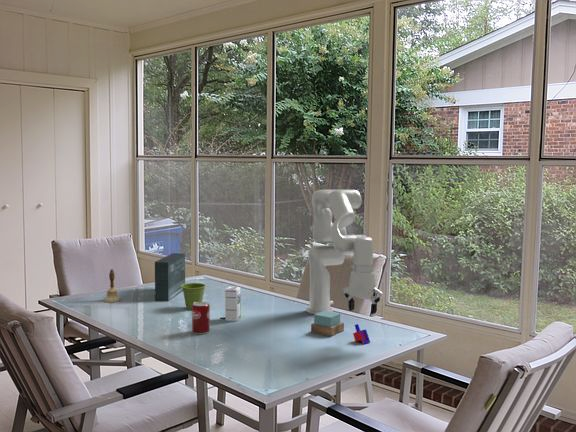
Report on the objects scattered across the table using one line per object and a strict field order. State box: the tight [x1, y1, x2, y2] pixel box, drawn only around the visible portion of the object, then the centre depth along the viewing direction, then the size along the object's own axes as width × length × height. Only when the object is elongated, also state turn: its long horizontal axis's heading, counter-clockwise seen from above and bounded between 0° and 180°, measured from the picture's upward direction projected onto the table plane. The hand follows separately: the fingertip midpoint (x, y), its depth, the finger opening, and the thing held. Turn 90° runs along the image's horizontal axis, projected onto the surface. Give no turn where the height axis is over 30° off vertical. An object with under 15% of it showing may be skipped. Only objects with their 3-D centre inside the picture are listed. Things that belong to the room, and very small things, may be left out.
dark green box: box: [154, 252, 186, 302], centre depth 311 cm, size 29×7×20 cm, turn 173°
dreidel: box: [352, 324, 371, 345], centre depth 234 cm, size 4×4×8 cm
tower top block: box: [313, 311, 341, 327], centre depth 246 cm, size 8×8×4 cm
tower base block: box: [310, 321, 345, 337], centre depth 247 cm, size 10×10×4 cm
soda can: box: [191, 301, 211, 335], centre depth 244 cm, size 7×7×12 cm
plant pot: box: [181, 282, 207, 311], centre depth 283 cm, size 12×12×11 cm
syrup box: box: [224, 286, 242, 322], centre depth 264 cm, size 6×6×14 cm
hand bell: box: [103, 269, 122, 303], centre depth 297 cm, size 8×8×16 cm
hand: (362, 311), depth 232 cm, fingers open, 9 cm apart
